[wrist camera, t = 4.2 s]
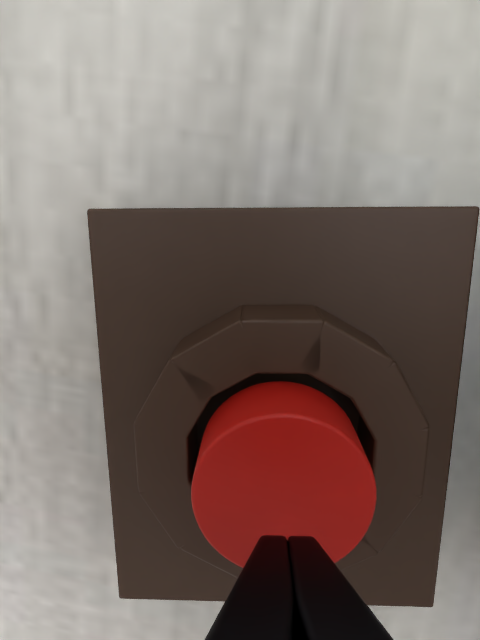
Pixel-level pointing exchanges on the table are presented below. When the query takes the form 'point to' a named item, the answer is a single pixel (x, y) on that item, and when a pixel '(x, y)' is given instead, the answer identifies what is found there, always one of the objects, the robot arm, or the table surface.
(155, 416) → the brown button base
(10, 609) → the table surface
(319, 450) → the release button
